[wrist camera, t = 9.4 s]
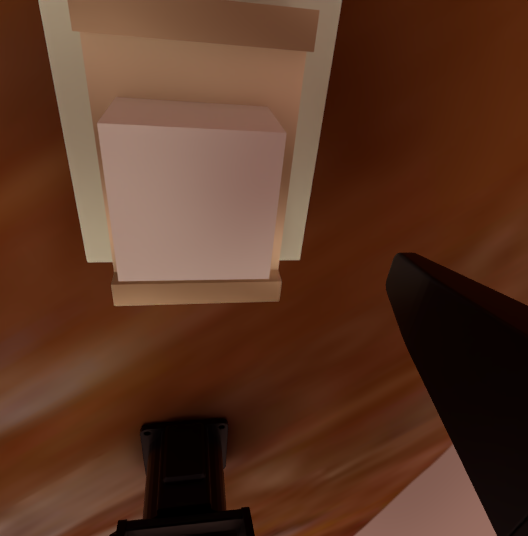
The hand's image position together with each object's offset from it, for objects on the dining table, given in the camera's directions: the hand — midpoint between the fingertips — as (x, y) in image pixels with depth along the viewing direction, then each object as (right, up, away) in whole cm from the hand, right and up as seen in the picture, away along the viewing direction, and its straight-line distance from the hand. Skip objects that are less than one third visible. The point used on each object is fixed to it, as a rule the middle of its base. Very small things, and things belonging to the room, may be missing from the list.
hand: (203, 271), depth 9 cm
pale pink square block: (-1, +3, +5) cm, 6 cm away
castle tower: (-1, +5, +7) cm, 9 cm away
